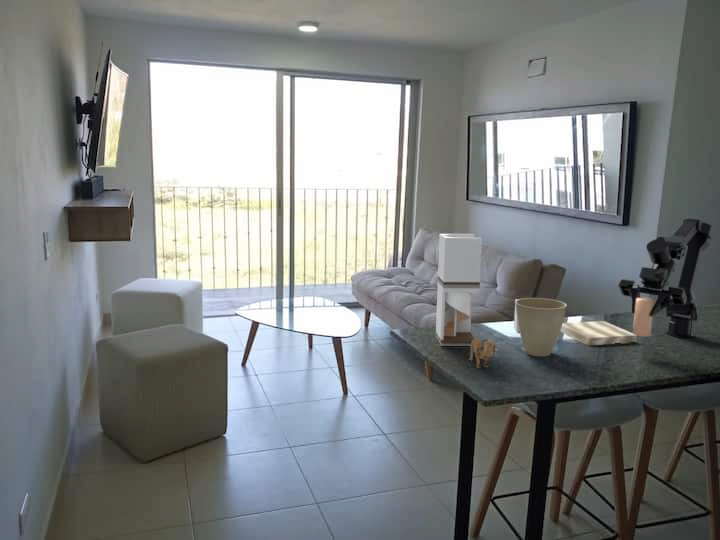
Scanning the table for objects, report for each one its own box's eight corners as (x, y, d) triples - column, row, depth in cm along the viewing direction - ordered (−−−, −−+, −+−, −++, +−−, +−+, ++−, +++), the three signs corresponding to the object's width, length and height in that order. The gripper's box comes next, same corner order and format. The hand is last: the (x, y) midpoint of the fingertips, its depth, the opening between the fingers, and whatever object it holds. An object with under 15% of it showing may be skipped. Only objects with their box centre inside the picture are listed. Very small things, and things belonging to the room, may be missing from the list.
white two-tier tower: (441, 347, 184) (445, 237, 178) (435, 337, 195) (439, 233, 189) (476, 347, 185) (482, 238, 179) (469, 337, 195) (474, 234, 189)
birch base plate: (602, 327, 209) (603, 321, 208) (636, 342, 192) (636, 335, 191) (557, 330, 205) (558, 323, 205) (587, 345, 188) (588, 338, 187)
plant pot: (561, 348, 185) (564, 299, 182) (564, 363, 171) (568, 310, 168) (512, 343, 189) (515, 296, 186) (512, 358, 175) (515, 306, 172)
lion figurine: (499, 371, 163) (501, 340, 162) (482, 373, 162) (483, 342, 160) (475, 355, 177) (476, 326, 176) (459, 356, 176) (460, 327, 174)
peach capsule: (643, 331, 180) (646, 296, 178) (654, 336, 175) (658, 300, 173) (629, 332, 179) (632, 297, 177) (639, 336, 174) (643, 301, 172)
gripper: (623, 253, 182) (604, 293, 177) (687, 261, 169) (669, 304, 164) (632, 275, 189) (613, 313, 184) (694, 284, 175) (676, 326, 170)
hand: (641, 313), depth 175 cm, fingers closed on peach capsule, 5 cm apart
